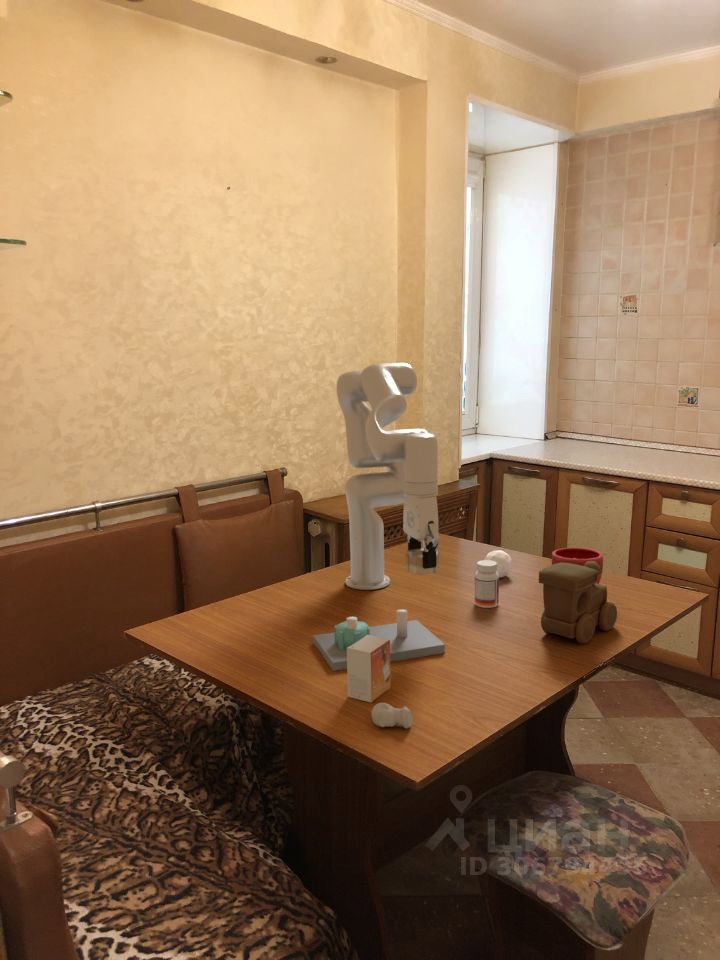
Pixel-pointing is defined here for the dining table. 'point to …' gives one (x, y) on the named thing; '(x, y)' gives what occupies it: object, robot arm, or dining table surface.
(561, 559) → the plant pot
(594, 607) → the wooden toy train
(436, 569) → the wooden gear
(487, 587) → the pill bottle
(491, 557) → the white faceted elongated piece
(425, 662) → the dining table surface
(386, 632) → the gear board
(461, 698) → the dining table surface
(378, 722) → the pale two-lobed sculpture
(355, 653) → the small box
